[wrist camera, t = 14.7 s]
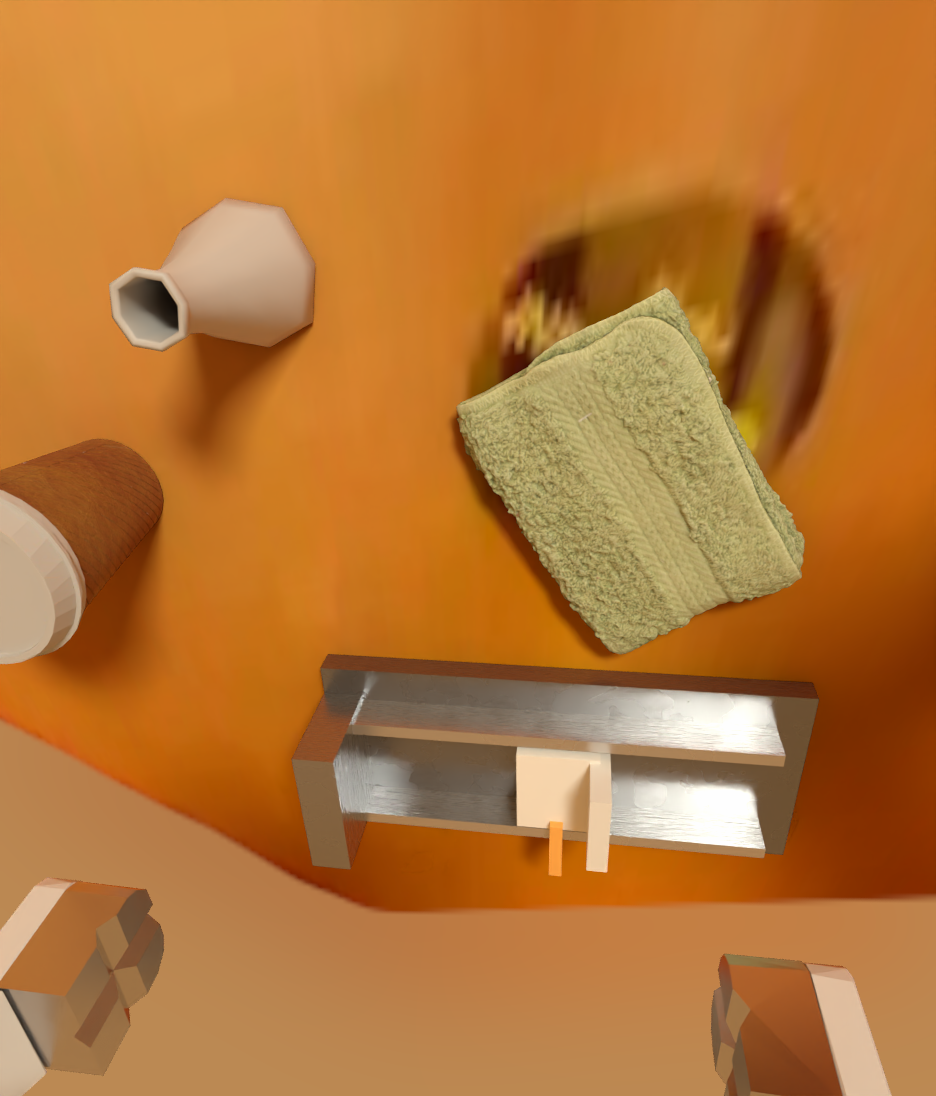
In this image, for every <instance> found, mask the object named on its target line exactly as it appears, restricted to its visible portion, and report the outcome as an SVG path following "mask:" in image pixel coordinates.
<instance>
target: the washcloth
mask: <svg viewBox="0 0 936 1096" xmlns="http://www.w3.org/2000/svg"><path fill="white" fill-rule="evenodd" d="M718 383H719V382H718V381H716V377H715V376H714V375H713V374H712V371H711V370H710V369H709V362H708V358H707V357H706V356H705V354H704V353H703V352H702V348H701V345H700V342H699V341H698V338H696V337H695V336H693V334H692V333H691V331H690V324H689V321H688V318H686V316H685V313H684V312H683V310H682V309H681V308H680V307H679V301H678V300H677V298H676V297H675V296H674V295H673V294H672V293H671V292H670V291H669V290H668V289H667V288H665V287H664V288H663V289H662V290H661V291H659V292H657V293H656V294H655V295H653V296H650V297H649V298H647V299H645V300H643V301H641V302H639V303H637V304H635V305H633V306H632V307H630V308H628V309H626V310H624V311H623V312H620V313H618V314H617V315H615V316H611V317H609V318H607V319H605V320H602V321H599V322H598V323H596V324H593V325H591V326H588V327H586V328H585V329H583V330H582V331H579V332H576V333H574V334H572V335H571V336H569V337H567V338H564V339H562V340H560V341H558V342H556V343H555V344H554V345H553V346H552V347H550V348H549V349H547V350H546V351H544V352H543V353H542V354H541V355H539V356H538V357H537V358H536V359H535V360H534V361H533V362H532V363H531V364H530V365H529V366H528V367H527V368H525V369H523V370H522V371H520V372H518V373H516V374H515V375H513V376H512V377H510V378H508V379H506V380H505V381H503V382H501V383H499V384H497V385H496V386H494V387H492V388H490V389H489V390H487V391H485V392H483V393H481V394H479V395H477V396H474V397H472V398H470V399H468V400H466V401H463V402H461V403H460V404H459V405H457V407H456V409H457V412H458V415H459V417H460V418H456V419H457V421H458V423H459V426H460V432H461V433H462V436H463V439H464V441H465V449H466V453H467V454H468V455H470V456H471V457H472V460H473V461H474V462H475V464H476V470H481V471H482V472H483V473H484V474H485V477H484V478H485V479H486V480H487V481H488V483H489V485H490V486H491V488H492V490H493V492H494V493H496V494H498V495H499V496H501V498H502V501H503V502H504V505H505V506H506V508H508V513H510V514H513V516H515V517H516V519H517V521H516V523H517V524H518V525H519V527H520V529H522V530H523V531H522V532H521V533H524V535H525V537H526V539H527V540H528V541H529V542H530V543H531V544H532V546H533V550H534V551H536V552H537V553H538V554H539V560H540V561H541V563H542V565H543V566H544V568H547V570H548V572H549V573H550V574H551V575H552V578H555V580H556V582H557V583H558V585H559V586H560V590H561V593H562V595H563V596H564V598H565V599H566V600H568V601H570V602H571V603H570V607H572V609H573V610H574V611H577V612H578V613H579V614H580V617H581V619H583V620H584V621H585V622H586V624H587V625H588V626H589V627H591V628H592V629H593V631H594V632H595V636H596V637H597V638H600V640H601V641H602V643H603V644H604V645H605V646H606V648H607V649H608V650H609V651H611V652H613V653H618V654H625V653H627V652H631V651H633V650H634V649H636V648H638V647H640V646H642V645H644V644H646V643H648V642H649V641H651V640H653V639H655V638H656V637H657V636H658V634H659V635H663V634H668V632H669V631H670V630H672V629H676V628H682V627H684V626H685V625H687V624H688V623H689V621H690V618H692V617H694V616H695V615H698V614H701V613H703V612H705V611H706V610H710V609H712V608H714V607H716V606H717V605H719V604H723V603H727V602H729V601H732V602H737V603H740V602H742V601H743V600H744V599H747V600H753V598H754V597H755V596H756V597H758V598H759V597H761V596H764V595H768V594H772V593H775V592H777V591H779V590H780V589H782V588H787V587H789V586H791V585H792V584H793V583H794V582H795V581H797V580H799V579H800V578H802V572H801V570H800V568H801V566H802V564H803V553H804V543H805V541H804V537H803V535H802V533H801V532H798V531H797V530H796V525H795V524H794V523H793V522H794V520H793V519H792V518H791V516H792V515H793V514H792V513H790V512H789V511H788V510H787V509H786V506H785V505H783V504H782V503H781V502H780V496H779V495H778V494H776V492H774V491H773V490H772V488H771V487H770V486H769V484H768V483H767V480H766V478H765V477H763V473H762V471H761V470H760V467H759V465H758V464H757V462H756V460H755V458H754V457H753V455H752V454H751V451H750V449H749V448H748V447H747V445H746V442H745V440H744V439H743V437H742V436H741V434H740V432H739V430H738V429H737V426H736V424H735V422H734V421H733V420H732V418H731V413H730V409H728V408H727V407H726V405H723V403H722V400H723V399H722V398H720V392H719V389H718V386H717V384H718Z"/></svg>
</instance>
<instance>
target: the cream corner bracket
mask: <svg viewBox="0 0 936 1096" xmlns="http://www.w3.org/2000/svg"><path fill="white" fill-rule="evenodd" d="M516 782H517V826H524V827H535V828H546V829H550V839H549V875H553V876H561V868H562V835H563V830H568V831H579V832H587V857H586V870H588V871H598V872H607V865H608V851H609V837H610V823H611V809H612V790H611V757H610V754H609V753H596V752H583V751H569V750H556V749H543V748H530V747H517V753H516Z"/></svg>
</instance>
